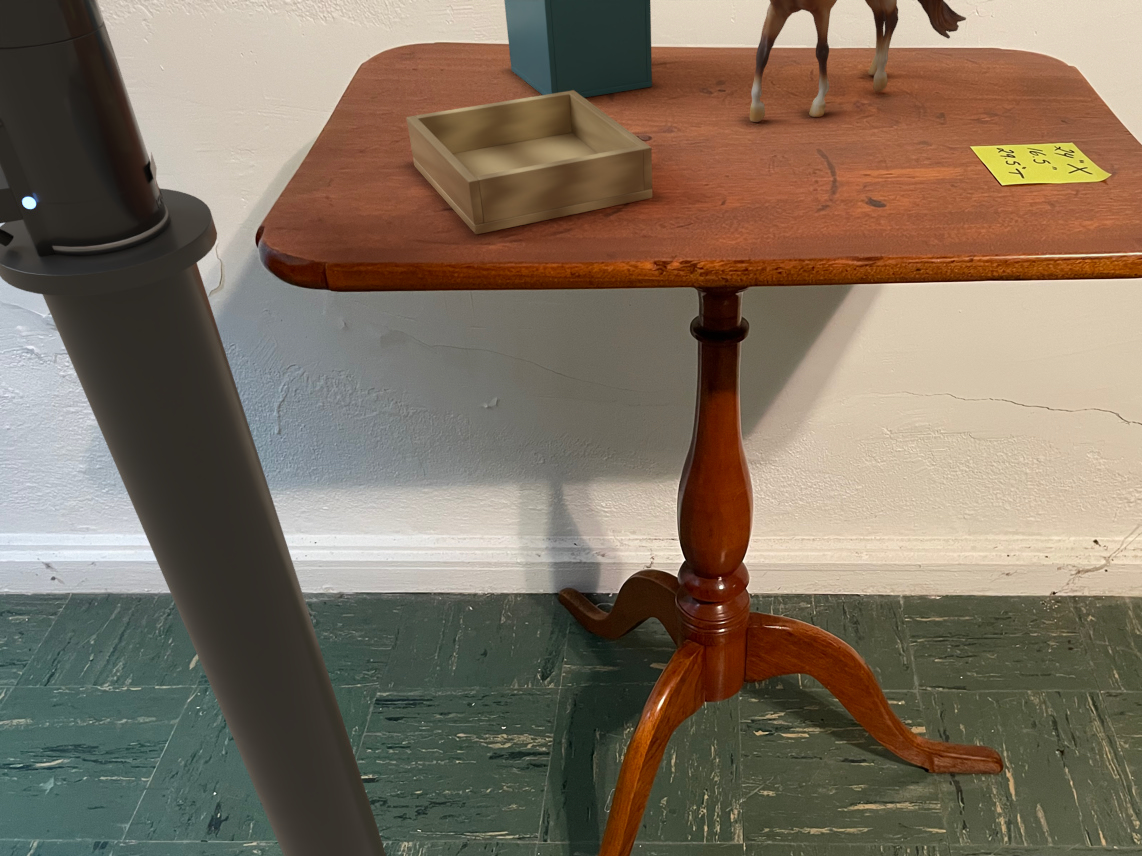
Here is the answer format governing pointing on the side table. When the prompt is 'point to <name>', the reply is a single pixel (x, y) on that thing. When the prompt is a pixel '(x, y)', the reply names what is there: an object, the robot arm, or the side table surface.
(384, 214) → the side table surface
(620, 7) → the teal upright container
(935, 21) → the horse figurine
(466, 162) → the box
